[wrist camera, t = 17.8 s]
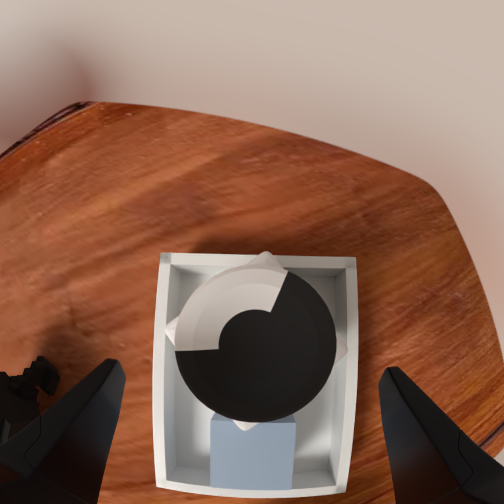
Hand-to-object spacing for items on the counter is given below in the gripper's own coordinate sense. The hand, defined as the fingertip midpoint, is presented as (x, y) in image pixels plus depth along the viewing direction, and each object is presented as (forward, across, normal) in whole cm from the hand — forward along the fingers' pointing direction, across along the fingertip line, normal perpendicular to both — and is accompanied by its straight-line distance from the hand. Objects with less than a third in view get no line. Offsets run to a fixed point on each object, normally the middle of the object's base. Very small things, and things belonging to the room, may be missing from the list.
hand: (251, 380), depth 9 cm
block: (+4, 0, +13) cm, 14 cm away
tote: (+8, 0, +11) cm, 14 cm away
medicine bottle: (+10, 0, +8) cm, 13 cm away
